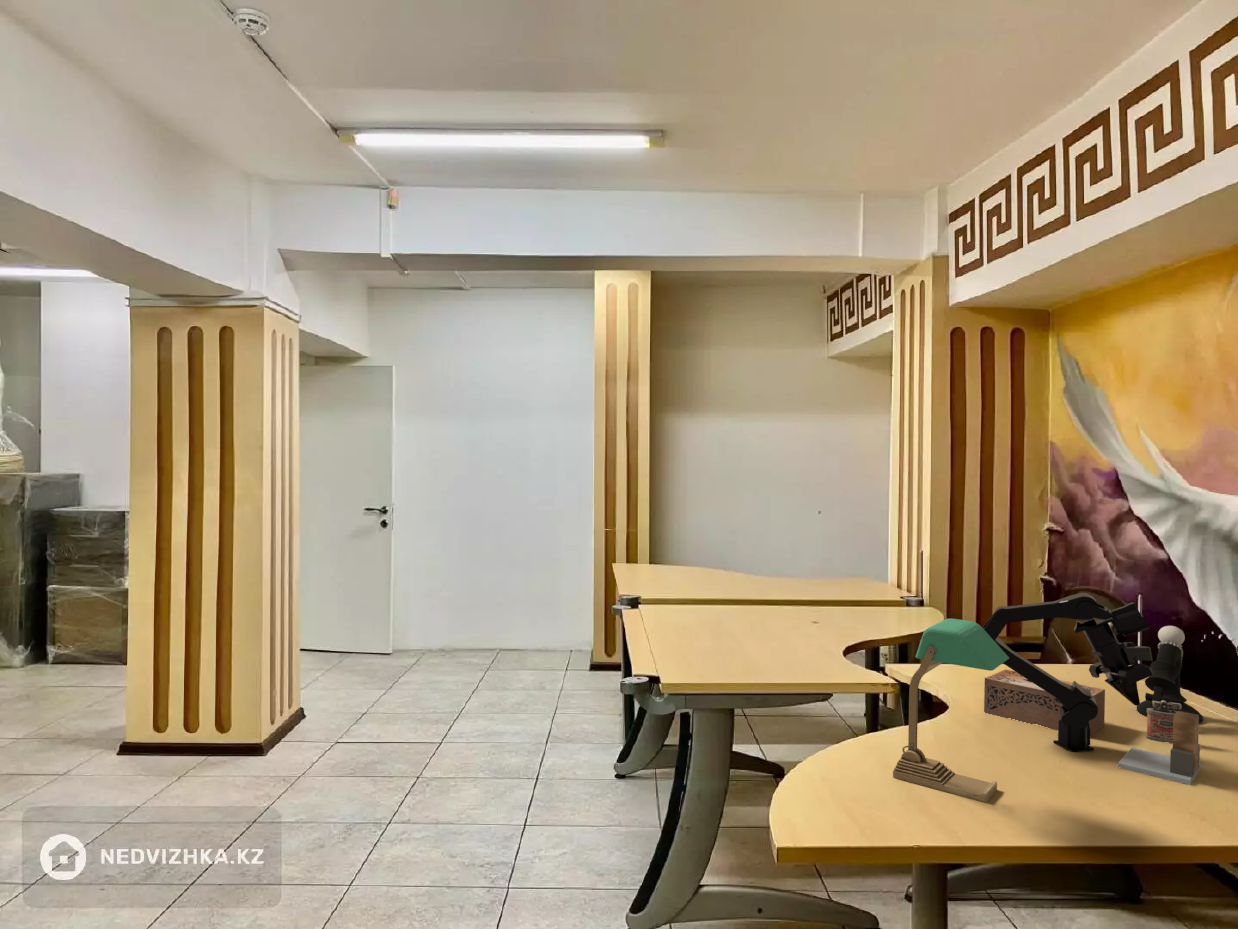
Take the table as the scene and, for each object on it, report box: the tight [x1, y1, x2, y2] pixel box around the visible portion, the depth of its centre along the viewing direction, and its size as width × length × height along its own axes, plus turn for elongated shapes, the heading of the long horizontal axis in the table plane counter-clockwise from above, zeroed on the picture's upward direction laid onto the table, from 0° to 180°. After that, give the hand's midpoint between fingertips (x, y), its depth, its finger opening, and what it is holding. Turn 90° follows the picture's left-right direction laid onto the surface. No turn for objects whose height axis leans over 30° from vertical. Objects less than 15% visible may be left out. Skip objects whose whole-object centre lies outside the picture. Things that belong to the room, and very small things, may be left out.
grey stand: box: [1117, 743, 1202, 786], centre depth 183 cm, size 14×14×6 cm
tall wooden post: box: [1172, 711, 1200, 773], centre depth 180 cm, size 4×5×12 cm
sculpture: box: [1136, 625, 1204, 724], centre depth 218 cm, size 15×24×25 cm, turn 134°
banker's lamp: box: [892, 618, 1009, 803], centre depth 172 cm, size 16×21×35 cm
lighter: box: [1145, 700, 1182, 744], centre depth 201 cm, size 8×3×10 cm, turn 62°
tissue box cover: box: [983, 668, 1106, 736], centre depth 217 cm, size 26×14×10 cm, turn 43°
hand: (1137, 704), depth 190 cm, fingers closed
